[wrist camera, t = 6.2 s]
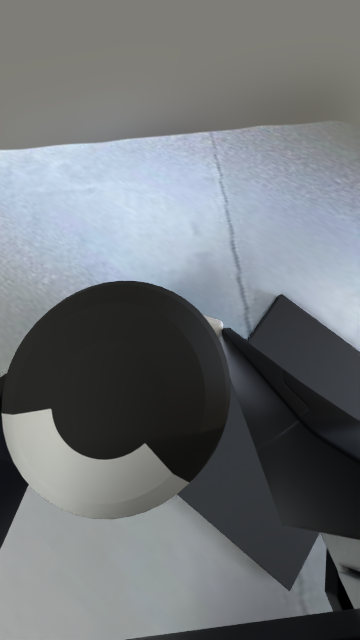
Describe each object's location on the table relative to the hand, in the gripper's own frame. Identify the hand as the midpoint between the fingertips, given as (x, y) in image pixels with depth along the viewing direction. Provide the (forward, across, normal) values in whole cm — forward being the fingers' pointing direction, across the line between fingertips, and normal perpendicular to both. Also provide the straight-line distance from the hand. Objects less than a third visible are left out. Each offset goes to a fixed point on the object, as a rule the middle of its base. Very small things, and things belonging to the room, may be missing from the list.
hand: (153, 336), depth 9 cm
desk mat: (-2, -12, +11) cm, 16 cm away
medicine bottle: (+4, 0, +6) cm, 7 cm away
